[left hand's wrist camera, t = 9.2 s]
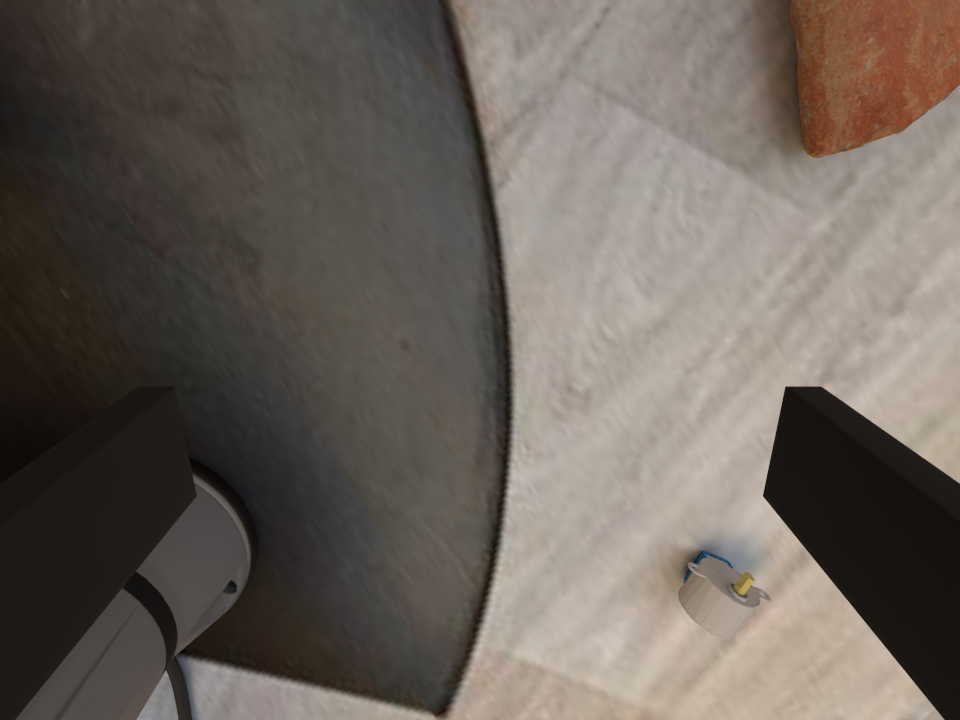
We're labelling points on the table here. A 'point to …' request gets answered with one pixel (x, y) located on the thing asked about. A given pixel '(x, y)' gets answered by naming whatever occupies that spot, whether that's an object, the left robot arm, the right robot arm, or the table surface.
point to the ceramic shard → (871, 67)
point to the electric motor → (719, 596)
